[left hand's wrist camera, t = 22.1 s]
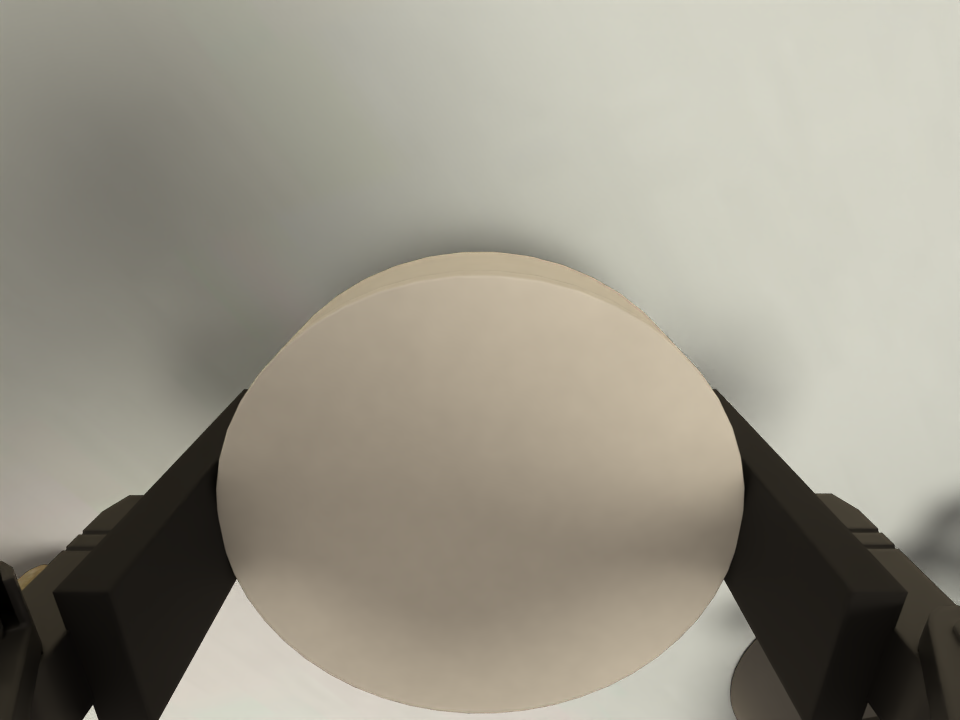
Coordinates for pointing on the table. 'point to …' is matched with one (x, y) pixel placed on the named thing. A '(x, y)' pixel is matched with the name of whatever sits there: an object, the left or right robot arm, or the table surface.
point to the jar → (763, 690)
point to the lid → (480, 486)
